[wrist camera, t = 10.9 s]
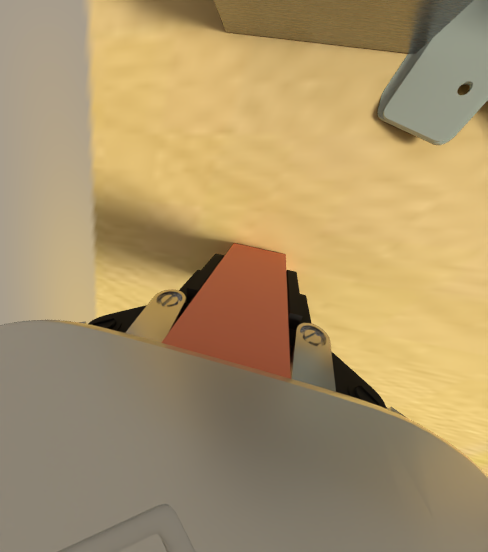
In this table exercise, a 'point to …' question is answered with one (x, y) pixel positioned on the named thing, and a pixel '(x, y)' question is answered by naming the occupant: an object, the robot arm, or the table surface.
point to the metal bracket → (441, 80)
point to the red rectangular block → (240, 312)
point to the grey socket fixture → (343, 21)
